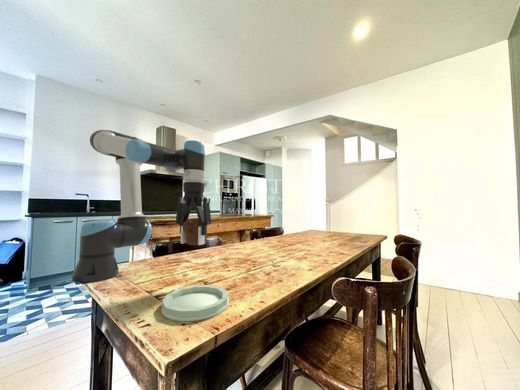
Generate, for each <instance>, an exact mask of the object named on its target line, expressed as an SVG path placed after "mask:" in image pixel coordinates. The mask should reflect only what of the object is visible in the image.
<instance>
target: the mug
mask: <svg viewBox="0 0 520 390" xmlns="http://www.w3.org/2000/svg"><path fill="white" fill-rule="evenodd" d="M199 225H200V222H199V219H198V217H197V218H195V217H194V218H188V219H187V220H186V221H185V222H184V223H183V231H184V233H185V234H186V243H185V244H186V245H190V246H199V245H198V227H200V226H199ZM207 241H208V226H207V227H206V235H205V244H207Z"/></svg>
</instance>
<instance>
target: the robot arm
mask: <svg viewBox="0 0 520 390" xmlns="http://www.w3.org/2000/svg"><path fill="white" fill-rule="evenodd" d="M89 144H90V146H91V147H92V149H93V150H95V151H96V152H97V153H99V154H102V155H105V156H109V157H114V158H115V163H116V164H117V165H118V166H119V184H120V187H119V188H120V215H119V216H118V217H117V219H116V218H104V219H103V218H102V219H95V220H90V221H87V222H86V221H85V222H84V223H82V225H81V226H80V227H81V228H80V229H81V230H80V232H79V236H80V237H79V239H80V240H79V254H78V255H79V256H78V261H77V263H76V266H75V268H74V269H73V273H72V277H71V279H72V280H71V281H72V282H74V283H79V284H80V283H81V284H82V283H94V282H99V281H104V280H107V279H112V278H113V277H114V278H115V277H116V276H118V275H119V269H120V268H119V266H118V262H117V260H116V256H115V249H118V248H127V247H133V246H134V247H136V246H139V245H145V244H146V243H147V242H148V241H149V240H150V238H151V235H152V232H153V231H152V229H153V228H152V227H153V226H152V224H151V222H150V221H149V220H148V219H147V217H146V215H145V214H144V213H143V209H142V208H143V207H142V205H143V204H142V186H141V185H142V184H141V166H142V165H144V164H146V165H151V166H157V167H161V168H164V169H166V170H167V171H178V170H183V184H182V192H183V193H184V194H183V197H178V198H177V199H176V200H177V201H176V202H177V209H176V216H175V224H176V225H178V226H179V234H180V244H187V243H186V234H185V233H184V231H183V223H184V222H185V221H186V220H187V219H189V217H190V213H191V211H192V209H194V210H195V211H196V214H197V215H196V216H197V218H198V219H199V222H200V225H199V226H200V227H198V245H197V246H201V245H205V244H206V243H205V235H206V227H207V228H208V226H209V225H212V217H211V214H212V213H211V207H210V206H211V205H210V204H211V203H210V202H211V198H210V197H205V196H204V192H205V184H204V182H205V156H206V151H205V144H204V143H203V142H201V141H199V140H193V139H192V140H186V141H185V142H184V143H183V144H184V145H183V148H182V149H181V148H180V149H174V148H173V149H172V148H170V147H166V146H162V145H159V144H155V143H151V142H147V141H145V140H144V139H143V140H142V139H141V138H139V137H136V136H130V135H127V134H124V133H120V132H116V131H113V130H108V129H99V130H96V131H94V132H92V133H91V134H90V137H89Z"/></svg>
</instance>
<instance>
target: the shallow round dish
mask: <svg viewBox="0 0 520 390" xmlns="http://www.w3.org/2000/svg"><path fill="white" fill-rule="evenodd" d="M229 304H230V298H229V291H227V290H226V289H225V288H223V287H222V286H217V285H211V284H203V285H202V284H200V285H190V286H187V287H182V288H178V289H176V290H174V291H172V292H170V293H167V294H166V295H165V297H164V298H163V299H162V301H161V314H162V316H163V317H164V318H166V319H168V320H170V321H176V322H189V323H190V322H199V321H203V320H206V319H207V320H208V319H211V318H213V317H216V316H218V315H220V314H221V313H224V312H225V310H226V309H228V307H229Z"/></svg>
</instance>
